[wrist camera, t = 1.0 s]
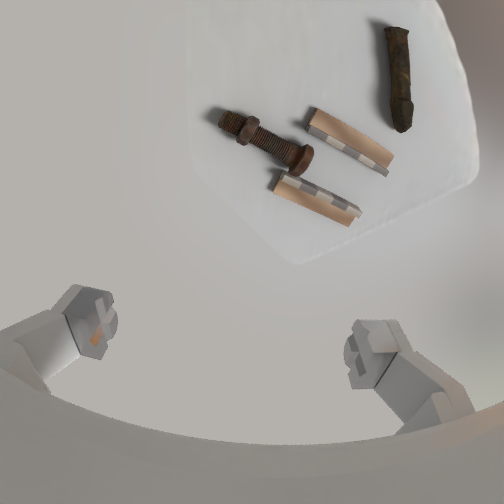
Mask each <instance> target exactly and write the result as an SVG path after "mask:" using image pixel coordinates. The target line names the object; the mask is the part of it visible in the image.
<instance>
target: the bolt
mask: <svg viewBox="0 0 504 504" xmlns="http://www.w3.org/2000/svg"><path fill="white" fill-rule="evenodd" d="M259 123H260V121H259V119H258V118H256V117H254V116H249V117H248V119H245V118H243V117H242V116H241V117H240V115H239V116H238V114H237V115H236V113H235V114H234V112H233V113H232V111H231V112H230V110H229V111H225V113H224V114H223V116H222V118H221V119H220V121H219V124H218V126H219V127H221V128H222V129H224V130H226V131H228V132H230V133H232V134H234V135H236V136H237V138H236V141H237V143H239V144H241V145H243V146H245V145H247V144H248V143H251V144H253V145H255V146H257V147H259V148H261V149H262V150H264V151H266V152H268V153H270V154H272V155H274V156H275V157H277V158H279V160H280V159H281V161H283V162H284V163H285V164H287V165H289V166H290V168H289V171H288V173H289V174H290V175H292V176H295V177H299V176H300V175H302V174H303V173H304V172H305V171H306V169H307V168H308V166H309V165H310V163H311V161H312V158H313V156H314V149H313V147H311V146H310V145H308V144H306V145H305V146H303V147H301V148H299V147H297V146H296V145H293V144H291V143H289V142H287V141H285V140H284V139H282V138H280V137H278V136H276V135H274V133H273V134H272V133H270V132H269V131H268V130H265V129H263V127H262V128H261V126H260V127H259Z"/></svg>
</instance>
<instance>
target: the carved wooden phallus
mask: <svg viewBox="0 0 504 504" xmlns="http://www.w3.org/2000/svg"><path fill="white" fill-rule="evenodd" d="M384 30H385V32H386V33H387V36H386V39H387V40H388V45H389V55H390V68H391V81H392V99H391V100H390V104H391V111H392V116H393V121H394V125H395V129H396V131H397V132H399V133H403V132H406V131H407V130H408V129H409V128H410V127H412V117H413V110H414V105H413V103H412V101H411V92H410V85H411V82H410V61H409V49H408V39H407V35H408V33H409V31H408V30H406V29H403V28H400V27H387V28H385V29H384Z"/></svg>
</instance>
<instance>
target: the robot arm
mask: <svg viewBox="0 0 504 504" xmlns="http://www.w3.org/2000/svg"><path fill="white" fill-rule="evenodd" d="M113 303H114V300H113V296H112V293H110V292H109V291H104V290H99V289H95V288H91V287H85V286H81V285H76V284H75V285H72V286H71V287H70V288H69V289H68V290H67V291H66V292H65V294H64V295H63V296H62V297H61V298H60V299H59V301H58V302H57V303H56V304H55V305H54V307H52V309H51V310H45V311H43V312H40V313H38V314H36V315H34V316H32V317H29V318H27V319H25V320H23V321H21V322H19V323H16V324H14V325H12V326H10V327H8V328H6V329H3V330H1V331H0V504H504V401H502V402H500V403H498V404H495V405H493V406H491V407H488V408H486V409H484V410H481V411H478V412H475V410H474V407H473V405H472V403H471V401H470V399H469V397H468V395H467V393H466V391H465V389H464V387H463V385H461V384H460V383H459V382H457V381H456V380H455V379H453V378H452V377H451V376H449V375H448V374H447V373H445V372H444V371H443V370H441V369H440V368H439V367H437V366H436V365H435V364H433V363H432V362H431V361H429V360H428V359H427V358H425V357H424V356H423V355H421V354H420V353H418V352H414V351H413V349H412V347H411V345H410V343H409V341H408V339H407V338H406V335H405V334H404V332H403V330H402V328H401V326H400V324H399V323H398V321H396V320H356V321H355V323H354V324H353V327H352V331H353V334H352V335H351V336H350V337H348V339H347V341H346V343H345V346H344V360H345V364H346V365H347V366H348V367H349V368H350V369H351V370H350V372H349V373H348V375H349V379H350V383H351V387H352V389H374V390H375V391H376V392H377V393H378V395H379V396H380V397H381V398H382V399H383V400H384V401H385V402H386V403H387V405H388V406H389V407H390V408H391V409H392V410H393V411H394V412H395V414H396V415H397V416H398V417H399V418H400V419H401V420H402V421H403V422H404V425H403V426H402V427H401V428H400V429H399V430H398V431H397V432H396V434H395V435H393V436H387V437H382V438H376V439H369V440H362V441H353V442H344V443H332V444H317V445H316V444H315V445H261V444H245V443H233V442H224V441H215V440H207V439H200V438H194V437H188V436H182V435H177V434H172V433H166V432H162V431H158V430H153V429H149V428H145V427H141V426H138V425H134V424H130V423H127V422H123V421H120V420H116V419H113V418H110V417H107V416H104V415H101V414H98V413H95V412H92V411H89V410H87V409H84V408H82V407H79V406H76V405H74V404H72V403H69V402H67V401H64V400H62V399H60V398H57V397H55V396H53V395H51V392H50V390H49V388H48V387H47V385H46V384H45V381H47V380H48V379H49V378H51V377H52V376H54V375H55V374H56V373H58V372H59V371H60V370H62V369H63V368H65V367H66V366H67V365H69V364H70V363H72V362H73V361H74V360H76V359H77V358H78V357H80V356H81V355H83V356H87V357H91V358H94V359H98V360H101V359H102V357H103V355H104V353H105V351H106V350H107V347H108V345H107V341H108V340H110V339H112V338H113V337H114V335H115V333H116V330H117V325H118V318H117V313H116V311H115V310H114V309H113V308H112V304H113Z"/></svg>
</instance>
